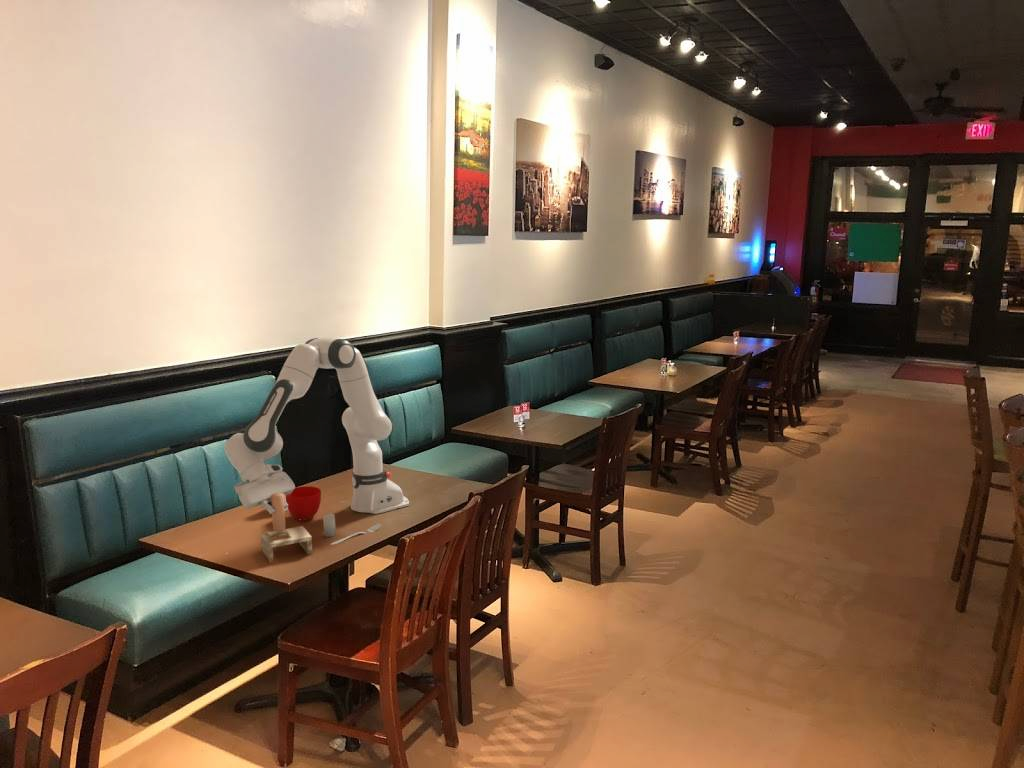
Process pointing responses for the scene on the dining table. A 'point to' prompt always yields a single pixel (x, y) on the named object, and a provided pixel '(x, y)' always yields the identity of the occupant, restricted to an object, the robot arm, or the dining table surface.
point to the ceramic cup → (304, 502)
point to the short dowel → (329, 525)
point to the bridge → (286, 540)
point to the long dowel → (278, 512)
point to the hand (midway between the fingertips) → (279, 509)
